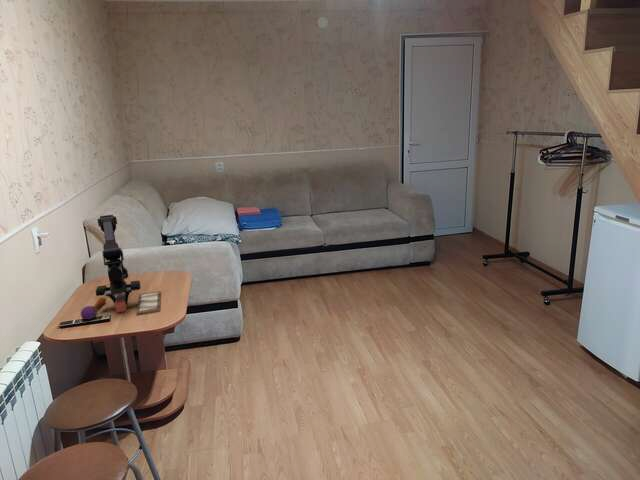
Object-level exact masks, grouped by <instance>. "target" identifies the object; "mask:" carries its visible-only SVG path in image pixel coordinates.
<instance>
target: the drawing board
mask: <svg viewBox="0 0 640 480" xmlns="http://www.w3.org/2000/svg"><path fill="white" fill-rule="evenodd" d="M161 292H162V291H161V290H159V291H157V290H156V291H150V292H145V293H144V292H143V293H140V294H138V301H137V306H136V307H137V308H136V316H141V315H147V314H155V313H160V312H161V295H162V293H161Z"/></svg>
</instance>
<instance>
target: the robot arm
mask: <svg viewBox="0 0 640 480" xmlns="http://www.w3.org/2000/svg"><path fill="white" fill-rule="evenodd" d="M97 225H98V227H100V230H101V231H102V232H103V233H104V240H105V242H104V244H103V245H102V247H103V250H102V252H101V253H102V258H103V264H104V266H105V267H106V266H107V270H106V271H107V276H108V280H109V286H107V285H98V286H97V287H96V289H95V296H96V297H99V296H105V297H109V298H110V299H111V300H112V302H113V303H114V305H115V300H116V297H117V296H116V295H118V294H125V299H126V305H127V306H128V303H129V296H130V294H131V293H132V292H133V291H140V290H141V286H142V285H141V281H140V280H132V281H131V280H130V283H128V284H127V282H126V281H125V280H127V279H128V278H129V271H128V269H127V268H126V266H124V260H125V258H124V251H123V249H121V248H120V247H119V243H118V242H116V235H115V232H116V229H117V225H118V219H117V216H115V215H114V214H108V215H100V216H99V218H97ZM123 292H124V293H123ZM127 302H128V303H127Z"/></svg>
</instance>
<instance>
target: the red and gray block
mask: <svg viewBox="0 0 640 480" xmlns="http://www.w3.org/2000/svg"><path fill="white" fill-rule="evenodd" d="M115 297H116V300H115V304H114V307H115V313H123V312H126V310H127V307H128V303H129V301H128V302H127V305H126V299H125V293H122V294H116V296H115Z"/></svg>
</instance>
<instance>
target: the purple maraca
mask: <svg viewBox="0 0 640 480" xmlns="http://www.w3.org/2000/svg"><path fill="white" fill-rule="evenodd" d="M106 302H107V299H106V298H105V297H103V296H102V297H99V299H98V300H97V301H96V302H95V304H94V305H93V306H92V305H89V306H85V307H83V308H82V309H81V310H80V316H81V318H82V319H83V320H85V319H91V318H93V319H94V318H95V316H96V315H97V308H99V307H101V306H102V305H104V304H106ZM91 320H92V319H91Z"/></svg>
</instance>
